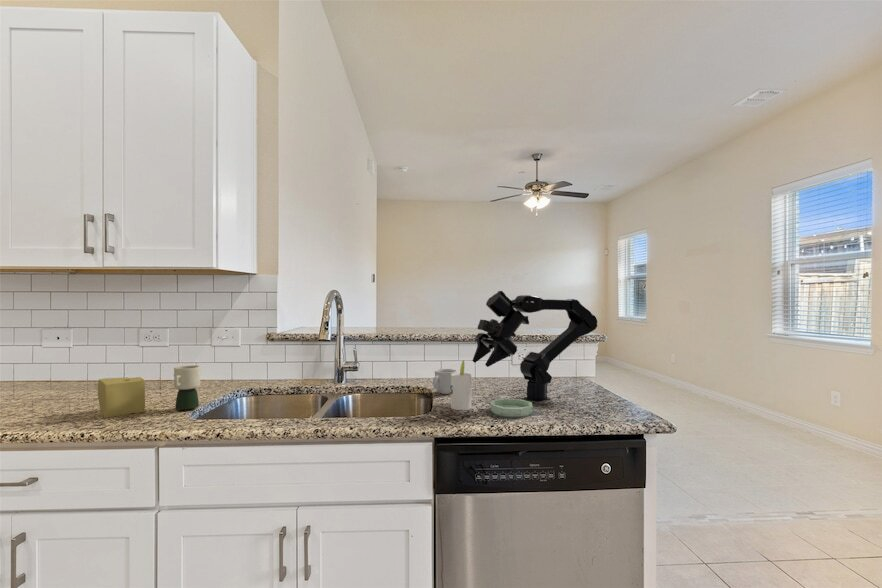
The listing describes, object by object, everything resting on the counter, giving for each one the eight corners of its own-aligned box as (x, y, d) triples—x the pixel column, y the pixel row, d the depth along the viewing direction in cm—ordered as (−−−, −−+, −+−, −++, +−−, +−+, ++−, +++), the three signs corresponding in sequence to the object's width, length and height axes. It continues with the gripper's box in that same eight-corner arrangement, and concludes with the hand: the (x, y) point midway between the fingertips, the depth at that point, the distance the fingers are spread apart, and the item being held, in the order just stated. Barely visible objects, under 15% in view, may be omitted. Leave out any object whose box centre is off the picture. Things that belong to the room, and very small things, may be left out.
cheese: (138, 406, 140) (138, 374, 140) (146, 412, 132) (146, 379, 132) (97, 412, 133) (97, 379, 133) (103, 419, 125) (103, 384, 125)
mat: (511, 405, 141) (511, 404, 141) (543, 414, 130) (543, 413, 130) (480, 411, 133) (480, 410, 133) (511, 421, 123) (511, 420, 123)
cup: (443, 398, 151) (443, 374, 151) (425, 394, 156) (425, 372, 156) (461, 392, 160) (461, 370, 160) (443, 389, 165) (443, 368, 165)
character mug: (187, 404, 142) (187, 364, 142) (208, 405, 141) (208, 364, 141) (163, 413, 131) (163, 369, 131) (186, 414, 130) (186, 370, 130)
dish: (511, 404, 140) (511, 396, 140) (540, 413, 130) (540, 404, 130) (483, 410, 133) (482, 402, 133) (511, 419, 123) (511, 410, 123)
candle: (447, 407, 139) (447, 359, 139) (466, 405, 141) (466, 358, 141) (454, 412, 133) (454, 362, 133) (474, 410, 135) (474, 361, 135)
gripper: (478, 309, 151) (451, 344, 147) (506, 311, 134) (475, 351, 130) (500, 330, 154) (473, 365, 150) (530, 334, 137) (500, 374, 133)
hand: (479, 363), depth 141 cm, fingers open, 9 cm apart
